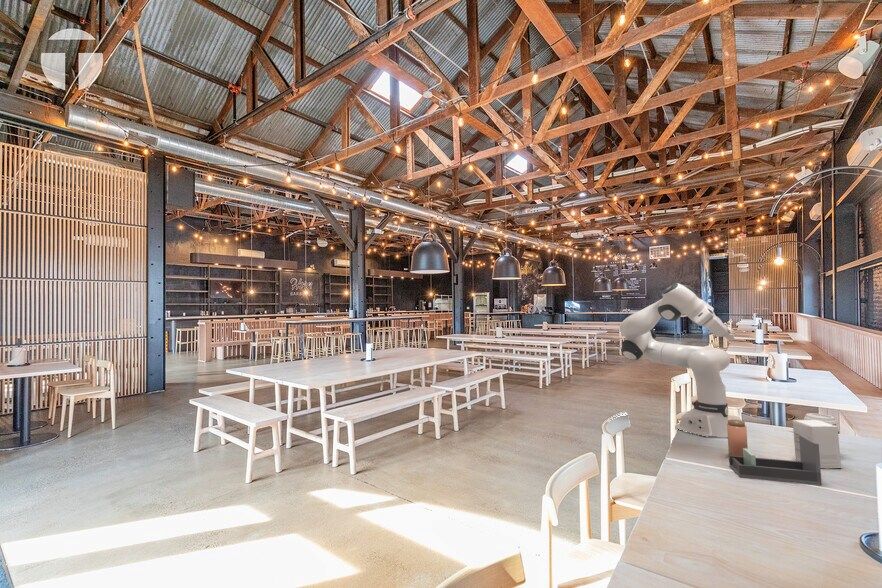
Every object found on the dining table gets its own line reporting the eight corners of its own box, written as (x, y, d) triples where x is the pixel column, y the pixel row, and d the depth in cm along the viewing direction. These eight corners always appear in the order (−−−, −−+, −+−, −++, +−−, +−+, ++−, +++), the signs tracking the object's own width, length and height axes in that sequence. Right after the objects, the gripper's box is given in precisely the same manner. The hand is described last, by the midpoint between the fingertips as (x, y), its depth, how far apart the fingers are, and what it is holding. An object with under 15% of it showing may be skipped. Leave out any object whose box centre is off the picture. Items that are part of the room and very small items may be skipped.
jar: (726, 458, 152) (724, 420, 153) (732, 454, 156) (730, 418, 157) (745, 462, 148) (742, 424, 148) (750, 458, 151) (748, 421, 152)
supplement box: (820, 460, 149) (817, 419, 149) (842, 469, 140) (839, 426, 141) (794, 459, 149) (791, 419, 150) (814, 468, 141) (811, 425, 141)
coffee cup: (847, 459, 149) (844, 418, 150) (821, 459, 149) (818, 419, 150) (823, 450, 158) (820, 412, 159) (799, 450, 159) (796, 412, 159)
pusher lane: (739, 477, 135) (737, 438, 135) (729, 466, 144) (727, 430, 145) (821, 485, 127) (818, 444, 128) (805, 473, 137) (802, 435, 137)
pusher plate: (752, 473, 134) (751, 455, 135) (743, 465, 141) (742, 448, 142) (756, 473, 134) (755, 455, 134) (747, 465, 141) (746, 448, 141)
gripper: (693, 313, 174) (720, 334, 170) (697, 324, 156) (728, 349, 153) (705, 302, 171) (733, 324, 168) (710, 313, 153) (742, 338, 150)
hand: (731, 336), depth 160 cm, fingers open, 8 cm apart
